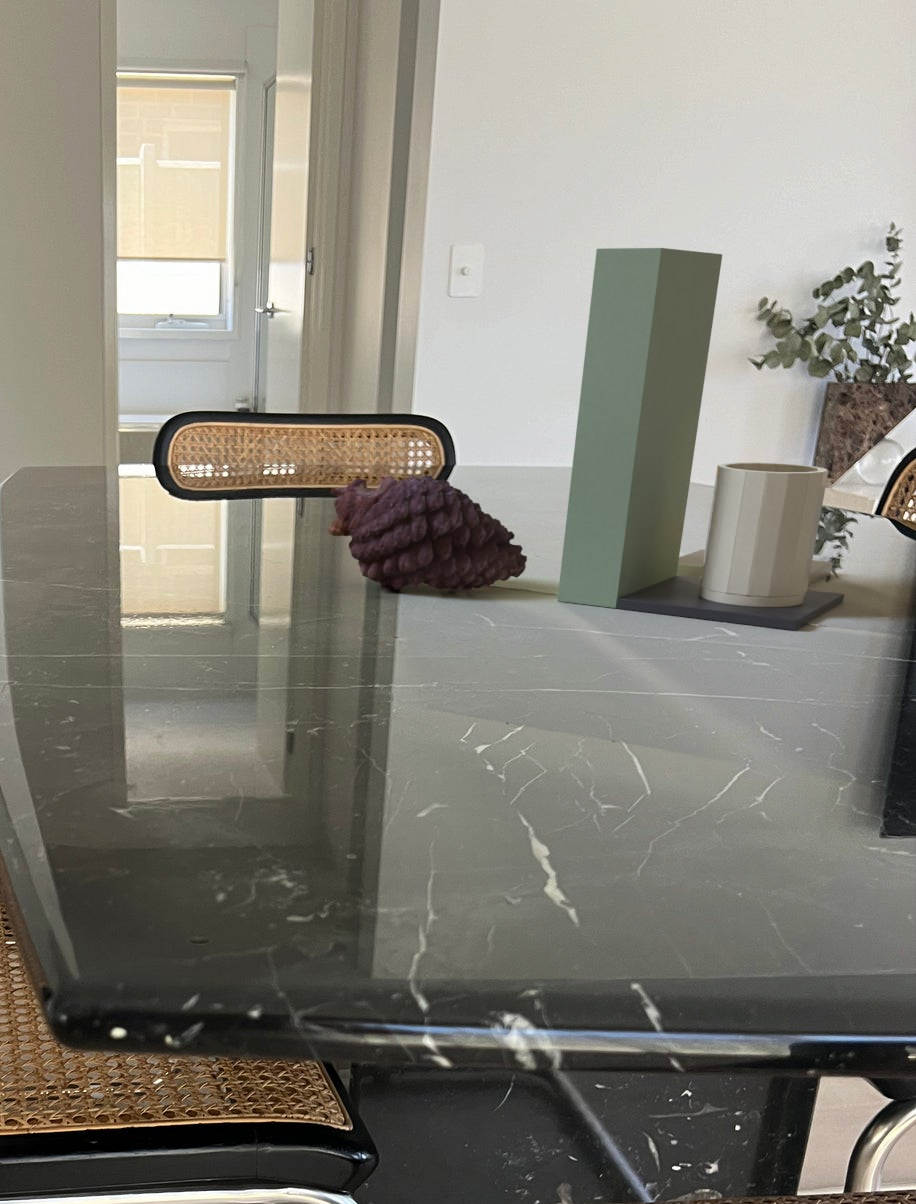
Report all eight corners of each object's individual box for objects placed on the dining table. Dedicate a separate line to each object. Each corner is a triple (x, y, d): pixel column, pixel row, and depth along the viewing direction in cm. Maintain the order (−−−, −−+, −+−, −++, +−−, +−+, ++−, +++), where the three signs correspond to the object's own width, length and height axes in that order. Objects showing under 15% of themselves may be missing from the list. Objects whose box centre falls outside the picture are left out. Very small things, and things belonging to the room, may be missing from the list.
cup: (815, 596, 118) (839, 467, 114) (787, 611, 112) (811, 475, 108) (717, 585, 123) (736, 460, 119) (685, 599, 117) (704, 467, 113)
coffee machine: (842, 603, 120) (909, 252, 109) (795, 630, 110) (864, 245, 99) (620, 578, 130) (661, 254, 120) (557, 601, 120) (596, 248, 109)
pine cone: (519, 579, 129) (555, 487, 121) (493, 653, 123) (530, 562, 115) (329, 515, 130) (353, 420, 122) (296, 585, 125) (319, 491, 117)
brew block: (830, 575, 133) (836, 541, 132) (800, 590, 125) (806, 555, 124) (699, 562, 139) (704, 529, 138) (663, 575, 132) (667, 541, 131)
